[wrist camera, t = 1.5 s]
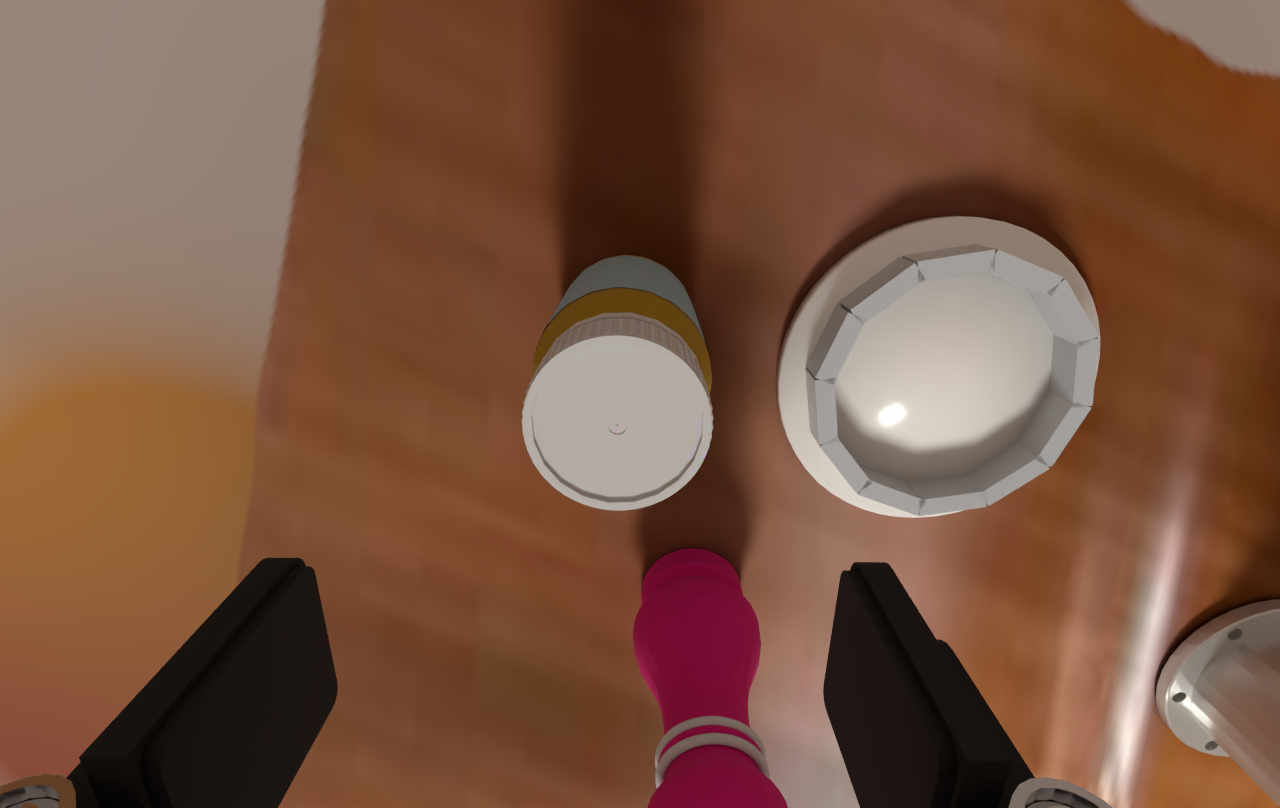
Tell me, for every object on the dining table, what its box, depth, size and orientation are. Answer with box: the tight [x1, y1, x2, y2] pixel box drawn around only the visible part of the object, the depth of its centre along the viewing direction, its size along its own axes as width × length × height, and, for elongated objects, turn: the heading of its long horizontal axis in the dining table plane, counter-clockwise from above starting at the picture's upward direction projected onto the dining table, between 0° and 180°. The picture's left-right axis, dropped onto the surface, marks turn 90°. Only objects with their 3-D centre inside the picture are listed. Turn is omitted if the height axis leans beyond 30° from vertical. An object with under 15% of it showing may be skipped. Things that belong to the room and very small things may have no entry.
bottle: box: [522, 255, 713, 510], centre depth 27 cm, size 7×7×15 cm
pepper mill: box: [633, 548, 788, 808], centre depth 31 cm, size 7×7×20 cm
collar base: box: [776, 216, 1100, 518], centre depth 34 cm, size 17×17×3 cm
